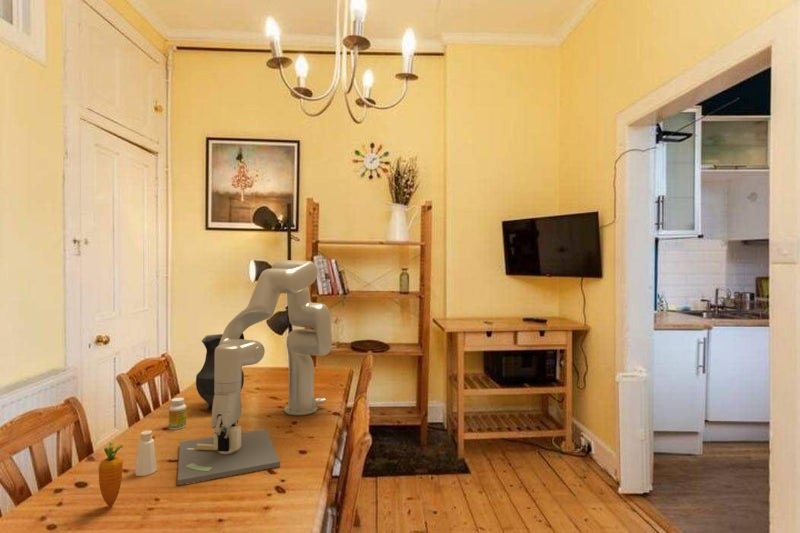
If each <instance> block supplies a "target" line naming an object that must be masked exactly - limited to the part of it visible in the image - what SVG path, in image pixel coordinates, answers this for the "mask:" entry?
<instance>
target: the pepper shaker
mask: <svg viewBox="0 0 800 533" xmlns="http://www.w3.org/2000/svg"><path fill="white" fill-rule="evenodd" d="M137 445H138V446H137V454H136V463H135V470H134V473H135V476H138V477H139V476H140V477H145V476H150V475H152V474H154V473H156V472H157V471H158V468H157V467H158V466H157V459H156V458H157V457H156V450H155V440H154V438H153V431H152V430H150V429H149V430H144V431H142V432H140V440H139V441H138V444H137Z"/></svg>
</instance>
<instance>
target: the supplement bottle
mask: <svg viewBox="0 0 800 533" xmlns="http://www.w3.org/2000/svg"><path fill="white" fill-rule="evenodd" d="M170 402H171V405H170V406H169V408H168V429H170V430H172V431H173V430H174V431H175V430H181V428H182V429H184V428H185V427H186V426H187V405H186V404H185V398H184V397H174V398H172V399H171V401H170Z"/></svg>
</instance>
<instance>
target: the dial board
mask: <svg viewBox="0 0 800 533" xmlns="http://www.w3.org/2000/svg"><path fill="white" fill-rule="evenodd" d="M197 444H214V436H212V437H205V438H197V439H191V440H190V439H189V440H184V441H183V440H182V441H179V449H178V463H177V464H178V465H177V466H178V468H177V484H176V485H181V486H184V485H183V484H186V485H188V484H187V483H191V484H194V483H193V482H197V483H199V482H198V481H202V482H204V481H203V480H207V481H209V480H208V479H213V478H218V479H220V478H219V477H223V478H226V477H225V476H229V477H231V476H230V475H234V476H237V475H236V474H239V475H243V474H242V473H245V474H248V473H247V472H250V473H253V472H252V471H256V472H259V471H258V470H261V471H264V470H263V469H266V470H270V469H269V468H272V469H275V468H274V467H277V468H280V467H281V461H280V458H279V456H278V454H277V452H276V450H275V447H274V444H273V442H272V440H271V438H270V435H269V433H268V431H267V429H259V430H251V431H246V432H241V447H240V448H239V449H238V450H237V451H235V452H233V453H231V454H220V453H219V452H218V450H199V449H196V445H197ZM213 480H214V479H213Z"/></svg>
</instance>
